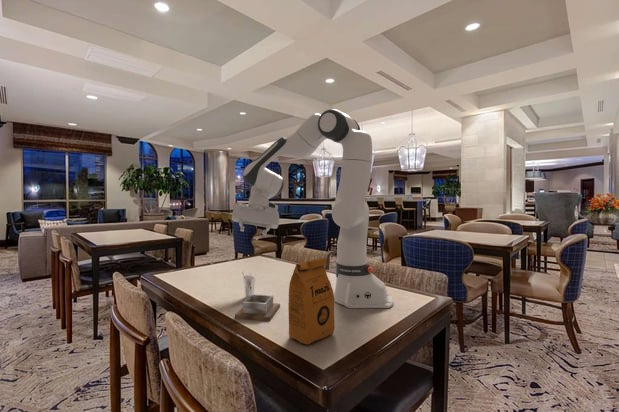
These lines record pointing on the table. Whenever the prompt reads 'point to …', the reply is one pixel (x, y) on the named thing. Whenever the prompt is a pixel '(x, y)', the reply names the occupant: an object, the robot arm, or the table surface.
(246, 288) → the milkshake
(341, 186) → the robot arm
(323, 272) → the coffee package
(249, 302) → the socket base
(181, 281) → the table surface
